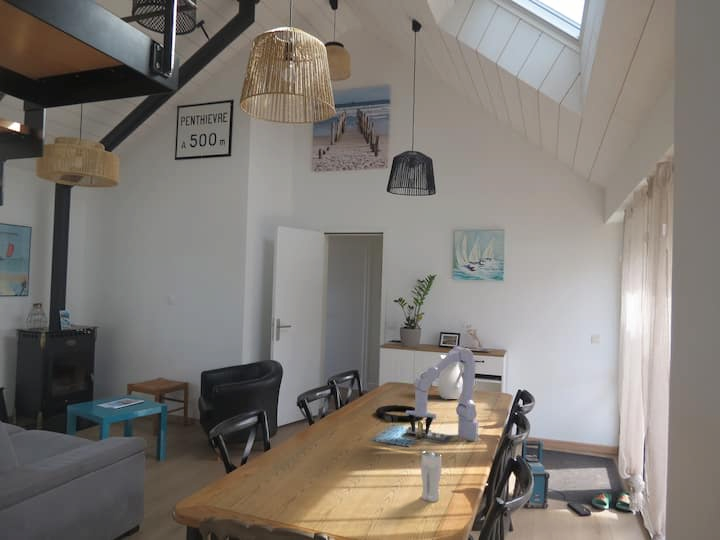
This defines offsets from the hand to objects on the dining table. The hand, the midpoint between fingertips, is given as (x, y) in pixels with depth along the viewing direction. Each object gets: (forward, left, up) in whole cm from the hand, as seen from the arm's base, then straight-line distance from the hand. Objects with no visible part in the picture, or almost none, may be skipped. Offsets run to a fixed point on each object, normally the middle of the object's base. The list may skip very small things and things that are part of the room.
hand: (420, 432), depth 242 cm
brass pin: (0, 0, -3) cm, 3 cm away
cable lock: (+24, -39, -4) cm, 46 cm away
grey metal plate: (-1, -6, -3) cm, 6 cm away
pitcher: (+9, -101, -4) cm, 101 cm away
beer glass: (-23, +62, -4) cm, 67 cm away
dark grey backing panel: (-2, -6, -4) cm, 7 cm away
